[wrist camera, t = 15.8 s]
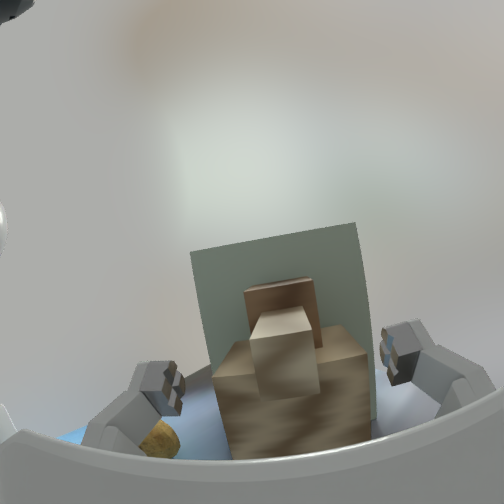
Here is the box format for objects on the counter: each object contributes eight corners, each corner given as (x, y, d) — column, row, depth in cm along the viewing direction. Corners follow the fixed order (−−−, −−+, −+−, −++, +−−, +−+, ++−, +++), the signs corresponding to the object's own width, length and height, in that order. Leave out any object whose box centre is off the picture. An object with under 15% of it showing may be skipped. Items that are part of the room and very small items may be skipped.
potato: (149, 481, 24) (132, 441, 25) (119, 446, 32) (105, 411, 33) (195, 461, 29) (182, 422, 29) (156, 432, 37) (145, 398, 37)
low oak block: (246, 503, 20) (211, 377, 21) (257, 447, 31) (235, 341, 32) (369, 486, 19) (367, 353, 20) (350, 433, 30) (341, 324, 31)
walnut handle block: (240, 404, 16) (220, 307, 16) (261, 338, 32) (252, 285, 32) (341, 389, 15) (329, 290, 15) (315, 329, 31) (306, 275, 31)
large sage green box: (229, 440, 34) (189, 251, 35) (241, 403, 46) (213, 254, 47) (376, 418, 32) (355, 222, 33) (357, 385, 44) (337, 232, 45)
